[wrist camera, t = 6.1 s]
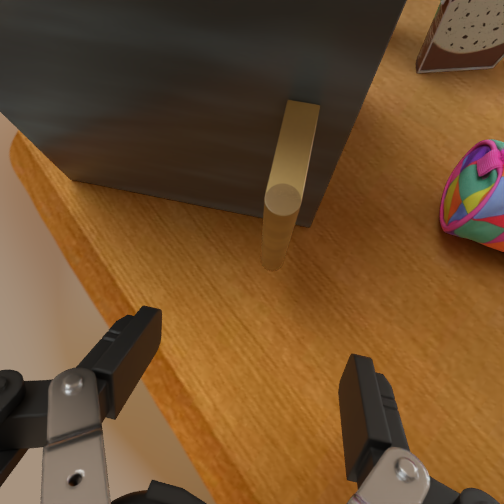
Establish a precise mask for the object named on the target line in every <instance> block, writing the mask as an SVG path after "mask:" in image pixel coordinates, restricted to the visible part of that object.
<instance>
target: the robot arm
mask: <svg viewBox="0 0 504 504" xmlns="http://www.w3.org/2000/svg"><path fill="white" fill-rule="evenodd" d="M161 329H162V311H161V309H157V308H152V307H148V306H142V307H141V308H140V310H139V311H138V312H137V313H136V314H135V316H132V315H126V316H125V317H123V318H121V319H119V320H118V321H116V322H115V323H114V325H113V326H112V327H111V328H110V329H109V331H108V332H107V333H106V334H105V335H104V336H103V338H102V339H101V340H100V341H99V342H98V343H97V344H96V345H95V346H94V348H93V349H92V350H91V351H90V352H89V353H88V355H87V356H86V357H85V358H84V359H83V360H82V361H81V362H80V364H79V365H78V366H77V367H76V368H72V369H68V370H66V371H64V372H62V373H60V374H59V375H58V376H56V377H55V378H54V379H52V380H42V381H41V380H40V381H24V380H23V377H22V375H21V374H20V373H19V372H17V371H14V370H1V371H0V487H1V486H2V484H3V483H4V481H5V480H6V479H7V477H8V476H9V474H10V473H11V472H12V471H13V469H14V468H15V467H16V465H17V464H18V462H19V461H20V460H21V458H22V457H23V456H24V454H25V453H26V452H27V450H28V449H29V448H38V447H43V459H42V484H41V504H206V503H205V502H203V501H202V500H200V499H199V498H197V497H196V496H194V495H192V494H191V493H189V492H188V491H186V490H185V489H183V488H180V487H176V486H173V485H169V484H165V483H162V482H158V481H155V480H152V481H151V483H150V485H149V488H148V490H144V491H138V492H133V493H129V494H126V495H124V496H121V497H119V498H117V499H115V500H114V501H112V502H111V500H110V493H109V483H108V476H107V475H108V474H107V466H106V458H105V448H104V440H103V431H102V422H103V420H104V419H105V417H107V418H111V419H114V420H115V419H116V418H117V416H118V415H119V413H120V411H121V410H122V408H123V406H124V405H125V403H126V401H127V400H128V398H129V396H130V395H131V393H132V391H133V390H134V388H135V386H136V385H137V383H138V382H139V380H140V378H141V377H142V375H143V373H144V372H145V370H146V368H147V367H148V365H149V364H150V362H151V360H152V359H153V357H154V355H155V354H156V352H157V350H158V348H159V345H160V341H161ZM338 394H339V405H340V416H341V426H342V436H343V446H344V456H345V467H346V477H347V480H349V481H353V482H357V485H358V491H357V492H356V493H355V494H354V495H353V496H352V497H351V498H350V500H349V501H348V503H347V504H500V503H498V502H497V501H496V500H495V499H494V498H493V497H491V496H490V495H489V494H487V493H485V492H483V491H481V490H479V489H476V488H466V489H465V490H463V491H462V492H461V494H459V493H458V492H456V491H454V490H452V489H451V488H449V487H447V486H445V485H444V484H442V483H440V482H438V481H437V480H435V479H433V478H432V477H430V476H429V474H428V472H427V470H426V468H425V466H424V465H423V464H422V462H421V461H420V460H419V459H418V458H417V457H416V456H415V455H414V454H412V453H411V452H410V450H409V446H408V443H407V439H406V436H405V432H404V429H403V425H402V422H401V418H400V415H399V411H397V409H398V408H397V404H396V401H395V397H394V394H393V390H392V387H391V385H390V384H389V382H388V381H387V379H386V378H385V376H384V375H383V374H380V373H376V372H375V369H374V365H373V361H372V359H371V358H370V357H365V356H361V355H357V354H351V355H350V357H349V359H348V362H347V364H346V367H345V369H344V372H343V374H342V377H341V380H340V383H339V392H338Z"/></svg>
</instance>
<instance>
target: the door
mask: <svg viewBox="0 0 504 504" xmlns="http://www.w3.org/2000/svg"><path fill="white" fill-rule="evenodd" d="M406 1H407V0H0V112H1V113H2V114H3V115H4V116H5V117H6V118H8V120H9V121H10V122H11V123H13V124H14V125H15V126H16V127H17V128H18V129H19V130H20V131H21V132H22V133H23V134H24V135H25V136H26V137H27V138H28V139H29V140H30V141H31V142H32V143H33V144H34V145H35V146H36V147H37V148H38V149H39V150H40V151H41V152H42V153H43V154H44V155H46V156H47V157H48V158H49V159H50V160H51V161H52V162H53V163H54V164H55V165H56V166H57V167H58V168H59V169H60V170H61V171H62V172H63V173H64V174H65V175H66V176H67V177H68V178H69V179H71V180H76V181H81V182H86V183H91V184H96V185H101V186H106V187H111V188H116V189H121V190H126V191H131V192H136V193H141V194H146V195H151V196H156V197H161V198H166V199H171V200H176V201H181V202H185V203H190V204H195V205H200V206H205V207H210V208H215V209H220V210H225V211H230V212H235V213H240V214H245V215H250V216H255V217H260V218H263V228H262V244H261V264H262V266H263V267H264V268H265V269H267V270H269V271H276V270H278V269H280V268H281V266H282V265H283V262H284V259H285V256H286V252H287V249H288V246H289V242H290V239H291V236H292V233H293V229H294V226H295V225H300V226H305V227H310V226H311V224H312V221H313V219H314V217H315V214H316V212H317V210H318V207H319V205H320V203H321V200H322V198H323V196H324V193H325V191H326V189H327V186H328V184H329V182H330V179H331V177H332V175H333V172H334V170H335V167H336V165H337V163H338V160H339V158H340V156H341V153H342V151H343V149H344V146H345V144H346V142H347V139H348V137H349V135H350V132H351V130H352V128H353V125H354V123H355V121H356V118H357V116H358V113H359V111H360V109H361V106H362V104H363V102H364V99H365V97H366V95H367V92H368V90H369V88H370V85H371V83H372V81H373V78H374V76H375V74H376V71H377V69H378V67H379V64H380V62H381V60H382V57H383V55H384V52H385V50H386V48H387V45H388V43H389V41H390V38H391V36H392V34H393V31H394V29H395V27H396V24H397V22H398V20H399V17H400V15H401V13H402V10H403V8H404V6H405V3H406Z"/></svg>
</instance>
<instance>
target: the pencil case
mask: <svg viewBox="0 0 504 504" xmlns="http://www.w3.org/2000/svg"><path fill="white" fill-rule="evenodd" d="M440 224H441V227H442V229H443V231H444V232H446V233H448V234H451V235H456V236H458V237H461V238H467V239H470V240H473V241H476V242H478V243H480V244H483V245H485V246H488V247H490V248H493V249H495V250H499V251H502V252H504V142H500V141H497V140H493V139H490V140H483V141H481V142H479V143H477V144H476V145H475V146H473V147H472V148H471V149H470V150H469V151H468V152H467V153H466V155H465V156H464V157H463V158H462V159H461V161H460V162H459V163H458V165H457V166H456V167H455V169H454V170H453V172H452V174H451V175H450V177H449V179H448V181H447V183H446V186H445V188H444V192H443V195H442V199H441V205H440Z"/></svg>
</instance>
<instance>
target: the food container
mask: <svg viewBox="0 0 504 504" xmlns="http://www.w3.org/2000/svg"><path fill="white" fill-rule="evenodd" d="M503 57H504V0H441V3H440V5H439V8H438V10H437V12H436V15H435V17H434V19H433V22H432V24H431V26H430V29H429V31H428V33H427V36H426V38H425V40H424V43H423V45H422V47H421V50H420V52H419V55H418V57H417V60H416V71H417V73H428V72H444V71H460V70H476V69H492V68H494V67H495V66H496V65H497V63H498V62H499V61H500V60H501V59H502V58H503Z"/></svg>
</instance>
